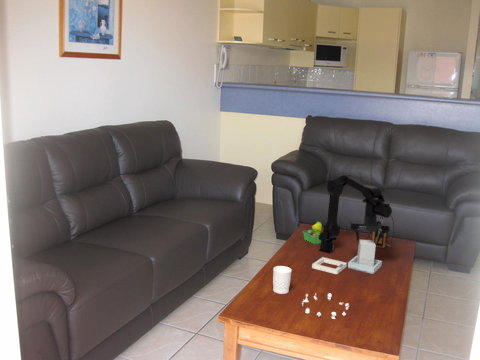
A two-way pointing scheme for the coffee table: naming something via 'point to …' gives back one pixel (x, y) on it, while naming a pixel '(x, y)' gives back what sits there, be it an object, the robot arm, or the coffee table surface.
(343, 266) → the frame
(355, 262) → the tray
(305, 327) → the coffee table surface
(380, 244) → the multimeter
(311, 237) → the fruit basket
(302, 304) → the game piece set
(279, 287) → the white cup
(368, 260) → the supplement box
